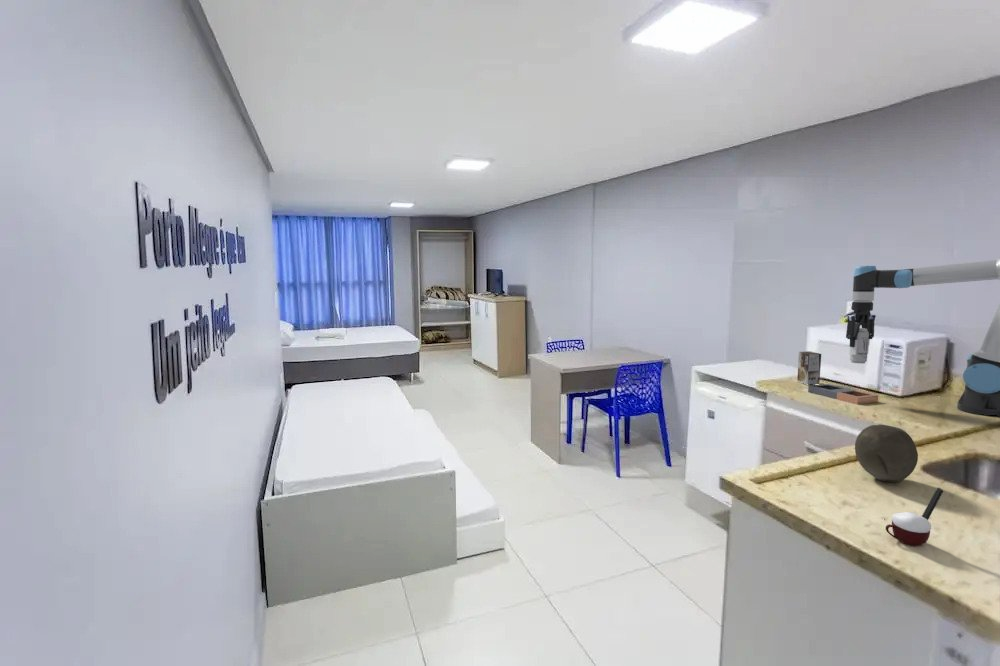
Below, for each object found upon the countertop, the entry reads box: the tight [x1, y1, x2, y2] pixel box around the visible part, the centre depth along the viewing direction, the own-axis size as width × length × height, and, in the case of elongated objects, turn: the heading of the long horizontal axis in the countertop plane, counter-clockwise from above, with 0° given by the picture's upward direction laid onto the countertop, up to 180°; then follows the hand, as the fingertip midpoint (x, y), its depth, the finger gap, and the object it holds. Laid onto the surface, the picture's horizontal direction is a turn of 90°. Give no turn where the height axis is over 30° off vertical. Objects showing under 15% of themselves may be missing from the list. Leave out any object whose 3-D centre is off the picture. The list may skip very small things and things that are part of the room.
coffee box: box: [796, 351, 822, 386], centre depth 250 cm, size 9×6×16 cm
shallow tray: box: [807, 383, 880, 405], centre depth 223 cm, size 24×12×3 cm, turn 17°
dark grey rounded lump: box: [854, 424, 919, 483], centre depth 134 cm, size 14×14×15 cm
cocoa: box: [885, 487, 944, 547], centre depth 103 cm, size 10×6×12 cm, turn 56°
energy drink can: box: [849, 327, 869, 365], centre depth 214 cm, size 6×6×15 cm
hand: (858, 353), depth 215 cm, fingers closed on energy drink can, 6 cm apart
